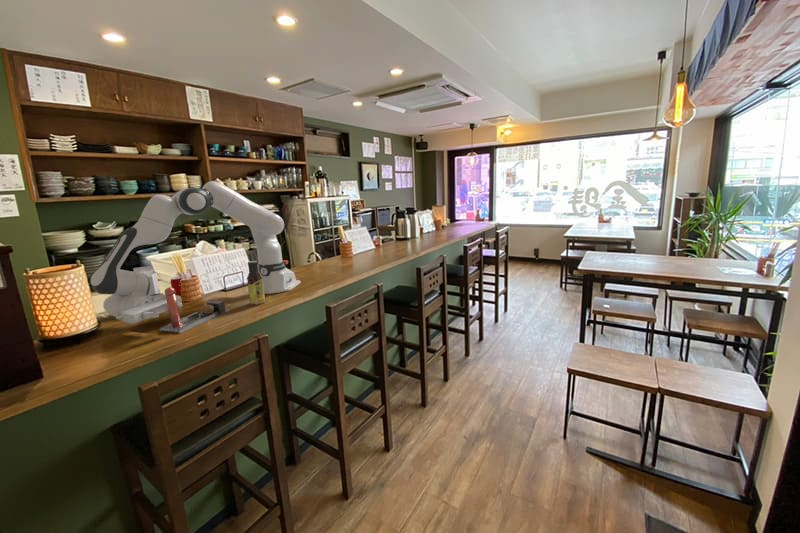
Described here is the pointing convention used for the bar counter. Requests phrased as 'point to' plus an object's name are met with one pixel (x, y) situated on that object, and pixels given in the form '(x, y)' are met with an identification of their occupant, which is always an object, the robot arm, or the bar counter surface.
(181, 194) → the robot arm
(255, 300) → the sauce bottle
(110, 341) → the bar counter surface
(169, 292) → the lever
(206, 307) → the walnut
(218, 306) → the bed
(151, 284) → the milk carton
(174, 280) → the soda can
